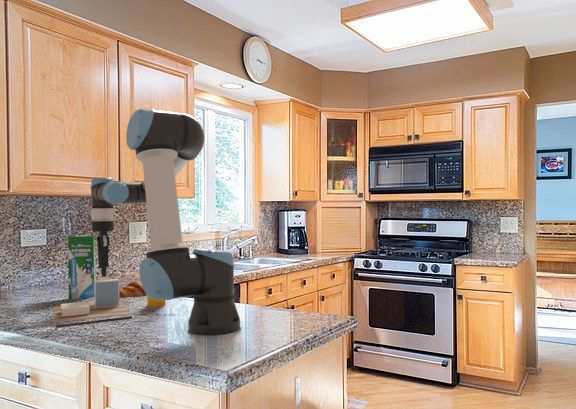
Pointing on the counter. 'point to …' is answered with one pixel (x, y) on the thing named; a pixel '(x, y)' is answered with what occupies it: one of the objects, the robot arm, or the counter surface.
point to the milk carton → (81, 266)
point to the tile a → (75, 309)
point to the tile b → (106, 293)
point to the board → (93, 315)
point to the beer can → (155, 302)
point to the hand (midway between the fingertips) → (103, 285)
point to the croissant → (132, 290)
